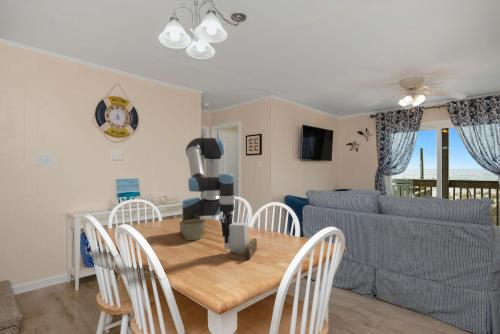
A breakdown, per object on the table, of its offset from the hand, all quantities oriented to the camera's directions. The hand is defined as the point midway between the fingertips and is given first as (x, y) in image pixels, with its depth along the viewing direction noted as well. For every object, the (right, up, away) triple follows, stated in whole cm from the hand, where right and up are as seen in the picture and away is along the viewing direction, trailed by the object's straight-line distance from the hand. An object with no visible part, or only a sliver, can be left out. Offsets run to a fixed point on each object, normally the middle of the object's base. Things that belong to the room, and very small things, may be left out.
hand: (227, 248), depth 144 cm
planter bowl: (-24, -3, +29) cm, 37 cm away
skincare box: (+6, -2, -2) cm, 7 cm away
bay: (+9, -2, -2) cm, 9 cm away
